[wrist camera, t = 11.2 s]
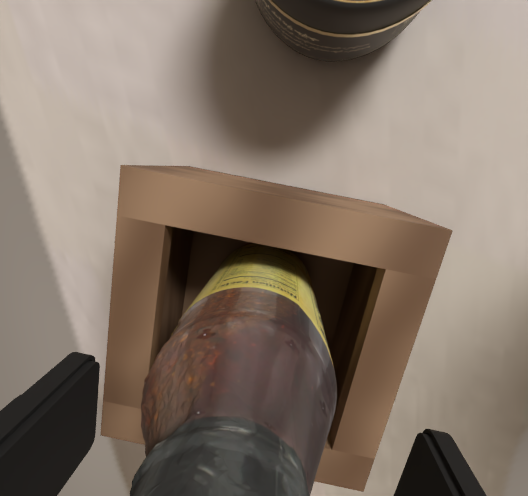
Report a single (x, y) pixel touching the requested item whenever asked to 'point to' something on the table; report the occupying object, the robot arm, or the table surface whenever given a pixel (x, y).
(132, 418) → the walnut box
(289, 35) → the jar
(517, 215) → the table surface
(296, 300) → the sauce bottle
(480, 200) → the table surface
